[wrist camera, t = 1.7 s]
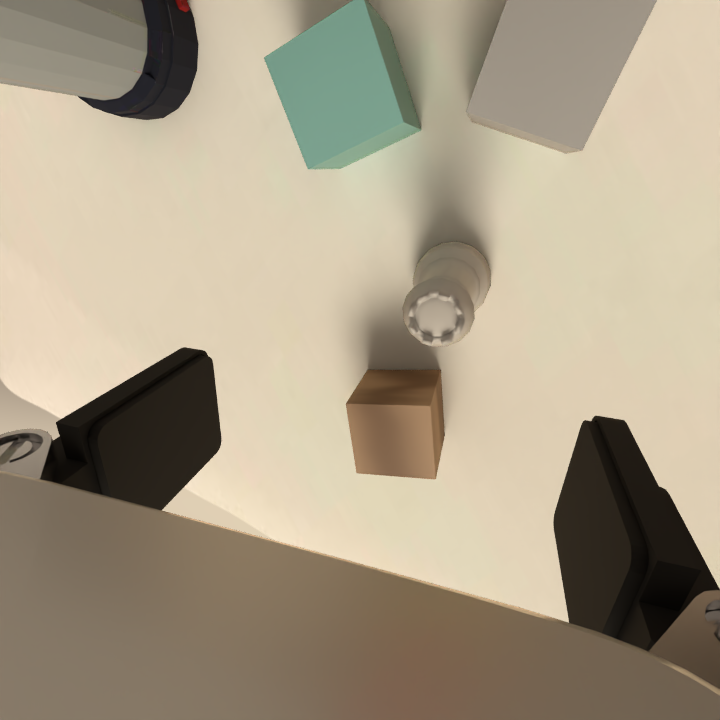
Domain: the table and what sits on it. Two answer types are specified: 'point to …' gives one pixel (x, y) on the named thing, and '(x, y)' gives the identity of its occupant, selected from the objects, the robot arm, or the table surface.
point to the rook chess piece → (446, 293)
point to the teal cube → (343, 88)
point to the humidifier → (102, 52)
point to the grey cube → (555, 67)
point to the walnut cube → (397, 423)
